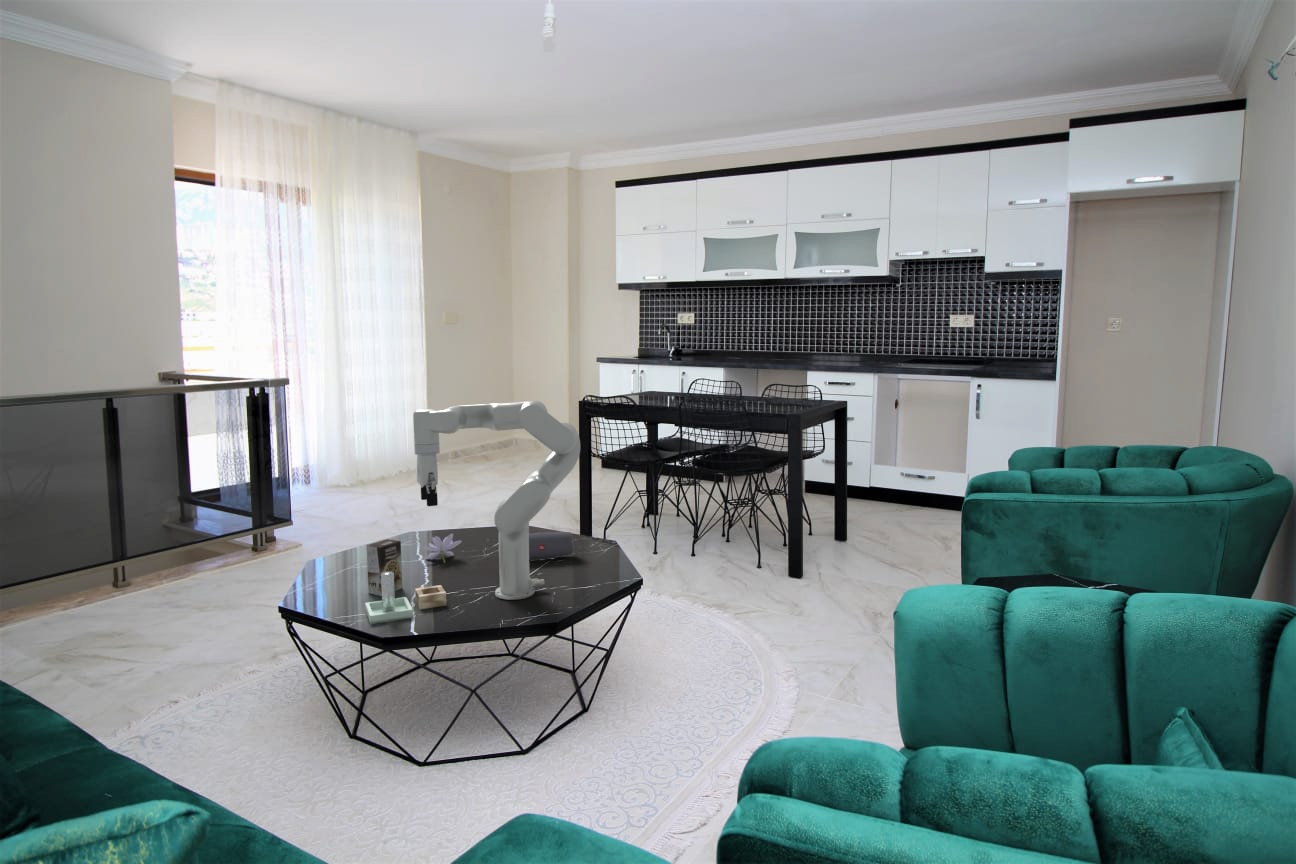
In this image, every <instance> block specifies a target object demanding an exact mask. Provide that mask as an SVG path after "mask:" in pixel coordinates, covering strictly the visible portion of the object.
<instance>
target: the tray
mask: <svg viewBox="0 0 1296 864" xmlns="http://www.w3.org/2000/svg"><path fill="white" fill-rule="evenodd" d="M364 605H365V606H364V607H365V613H366V615H367V619H368V621H369V625H375V624H376V625H377V624H381V623H388V622H394V621H399V620H407V619H412V618H414V609H413V607H412V605H411V603H410V602H409V600H408V598H407V596H402V597H397V598H395V611H392V612H386V613H383V612H382V599H381V600H376V601H368V602H365V603H364Z"/></svg>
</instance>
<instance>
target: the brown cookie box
mask: <svg viewBox="0 0 1296 864" xmlns="http://www.w3.org/2000/svg"><path fill="white" fill-rule="evenodd" d="M366 561H367V562H366V563H367V564H366V565H367V566H366V567H367V589H368V591H367V592H368V594H369V595H370V594H371V595H375V596H377V597H378V596H379V597H382V586H381V573H383V572H394V592H396V591H399V590H402V589H403V568H402V567H403V566H402V564H403V563H402V543H401V540H397V539H396V540H395V539H390V538H387V539H383V540H379V541H376V542H373V543H372V542H371V543H370V544H367V545H366Z"/></svg>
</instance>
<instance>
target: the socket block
mask: <svg viewBox="0 0 1296 864" xmlns="http://www.w3.org/2000/svg"><path fill="white" fill-rule="evenodd" d="M414 597H415V599H414V600H415V603H416V604H417V606H418V609H419V610H425V609H431V608H437V607H443V606H444V607H445V606H447V592H446V591H445V589H444V588H443V586H442V584H440V585H439V584H438V585H431V586H425V587H417V588H414Z"/></svg>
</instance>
